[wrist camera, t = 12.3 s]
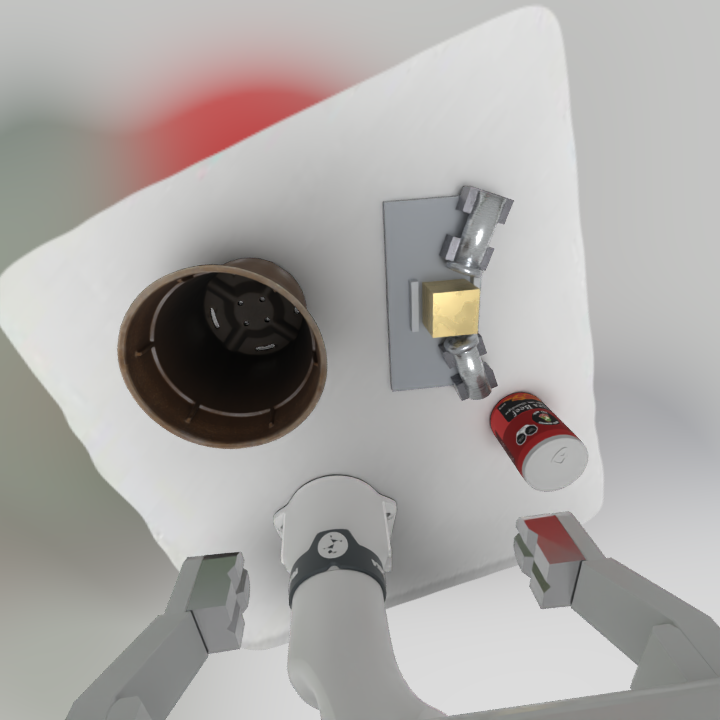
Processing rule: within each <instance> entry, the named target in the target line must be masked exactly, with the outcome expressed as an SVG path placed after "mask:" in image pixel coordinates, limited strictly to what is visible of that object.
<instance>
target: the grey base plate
mask: <svg viewBox="0 0 720 720" xmlns="http://www.w3.org/2000/svg"><path fill="white" fill-rule="evenodd" d="M459 197H460V196H450V197H438V198H426V199H414V200H402V201H390V202H383V211H384V233H385V256H386V279H387V302H388V325H389V348H390V371H391V389H392V392H393V391H403V390H412V389H422V388H432V387H441V386H451V385H453V382H452V380H451V376H454V375H456V374H458V373H459V371H458V369H457V366H456V367H453V368H451V369H449V367H448V366H447V364H446V363H445V361H444V359H443V357H442V354H441V352H440V349H439V347H438V345H439V344H441V343H443V342H444V341H445V340H446V339H447V338H448V337H449V336H448V337H438V338H432V336H431V335H430V333H429V332H428V330H427V329H426V327H425V326H424V325H423V323H422V282H432V281H443V280H454V279H466V280H468V281H469V282H470V283H472V284H473V285H475V286H476V287H478V288H479V289H480V290H481V278H475V277H471V276H467V275H464V274H461V273H458V272H455V271H453V270H450V269H448V268H446V267H445V266H446V263H447V259H444V258H443V257H441V256H440V255H439V254H440V251H441V248H442V245H443V242H444V239H445V237H446V234H449V235H453V236H456V237H459V238H461V235H462V233H463V230H464V227H465V225H466V222H467V219H468V216H469V214H468V213H465V212H462V211H458V210H455V208H456V206H457V203H458V200H459ZM479 307H480V300H479ZM478 324H479V316H478Z"/></svg>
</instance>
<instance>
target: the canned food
mask: <svg viewBox="0 0 720 720" xmlns="http://www.w3.org/2000/svg"><path fill="white" fill-rule="evenodd" d="M490 420H491V428H492V431H493V433H494V435H495V436H496V438H497V439H498V441H499V442H500V444H501V445H502V447H503V448H504V450H505V451H506V453H507V454H508V456H509V457H510V459H511V460H512V462H513V463H514V465H515V466H516V468H517V469H518V471H519V472H520V474H521V475H522V477H523V478H524V480H525V481H526V482H527V483H528V484H529V485H530V486H531V487H532V488H534V489H535V490H539V491H544V492H549V491H556V490H559V489H562V488H564V487H566V486H568V485H570V484H571V483H573V482H574V481H575V480H576V479H577V478H578V477H580V475H581V474H582V473H583V471H584V469H585V468H586V465H587V462H588V451H587V449H586V447H585V446H584V444H583V443H582V442H581V440H580V439H579V438H578V437H577V436H576V435H575V434H574V433H573V432H572V431H571V430H570V429H569V428H568V427H567V426H566V425H565V424H564V423H563V422H562V421H561V420H560V419H559V418H558V417H557V416H556V415H555V414H554V413H553V412H552V411H551V410H550V409H549V408H548V407H547V406H546V405H545V404H544V403H543V402H542V401H541V400H540V399H539V398H537V397H536V396H533V395H531V394H528V393H515V394H511V395H509V396H507V397H505V398H504V399H502V400H501V401H500V402H499V403H498V404H497V405H496V406H495V408H494V410H493V412H492V414H491V419H490Z"/></svg>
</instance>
